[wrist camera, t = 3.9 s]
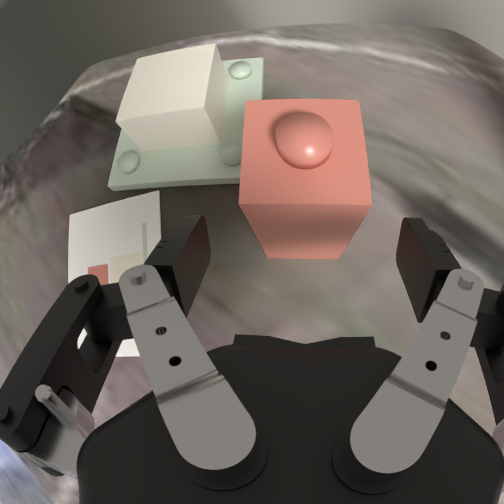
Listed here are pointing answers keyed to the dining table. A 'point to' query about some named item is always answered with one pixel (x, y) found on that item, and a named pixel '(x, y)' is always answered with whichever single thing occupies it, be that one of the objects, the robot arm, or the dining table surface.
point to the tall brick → (304, 175)
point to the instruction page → (114, 243)
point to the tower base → (194, 157)
